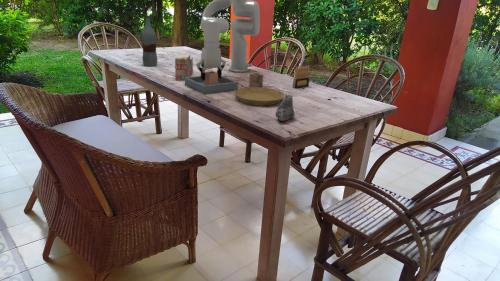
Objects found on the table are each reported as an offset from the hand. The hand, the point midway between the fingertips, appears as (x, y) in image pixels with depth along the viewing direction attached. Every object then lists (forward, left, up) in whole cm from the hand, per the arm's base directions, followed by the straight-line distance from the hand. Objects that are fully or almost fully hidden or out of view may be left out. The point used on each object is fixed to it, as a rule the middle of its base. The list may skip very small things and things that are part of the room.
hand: (211, 78), depth 192 cm
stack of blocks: (0, -28, -5) cm, 29 cm away
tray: (0, 0, -5) cm, 5 cm away
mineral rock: (0, +55, -5) cm, 55 cm away
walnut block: (-22, +10, -5) cm, 24 cm away
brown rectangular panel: (-45, +21, -5) cm, 50 cm away
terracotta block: (0, 0, -4) cm, 4 cm away
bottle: (+6, -63, -5) cm, 63 cm away
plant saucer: (-9, +29, -5) cm, 31 cm away
